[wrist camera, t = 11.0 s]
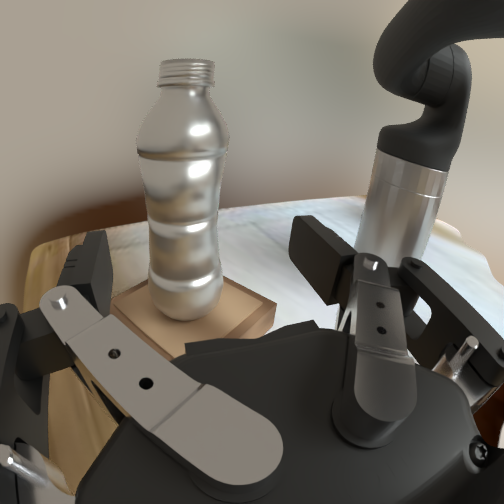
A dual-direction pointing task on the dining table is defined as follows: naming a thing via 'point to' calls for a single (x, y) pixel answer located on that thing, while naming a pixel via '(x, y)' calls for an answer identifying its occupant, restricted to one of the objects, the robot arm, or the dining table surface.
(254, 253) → the dining table surface
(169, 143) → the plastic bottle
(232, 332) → the plinth
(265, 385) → the robot arm
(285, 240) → the dining table surface
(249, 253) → the dining table surface
